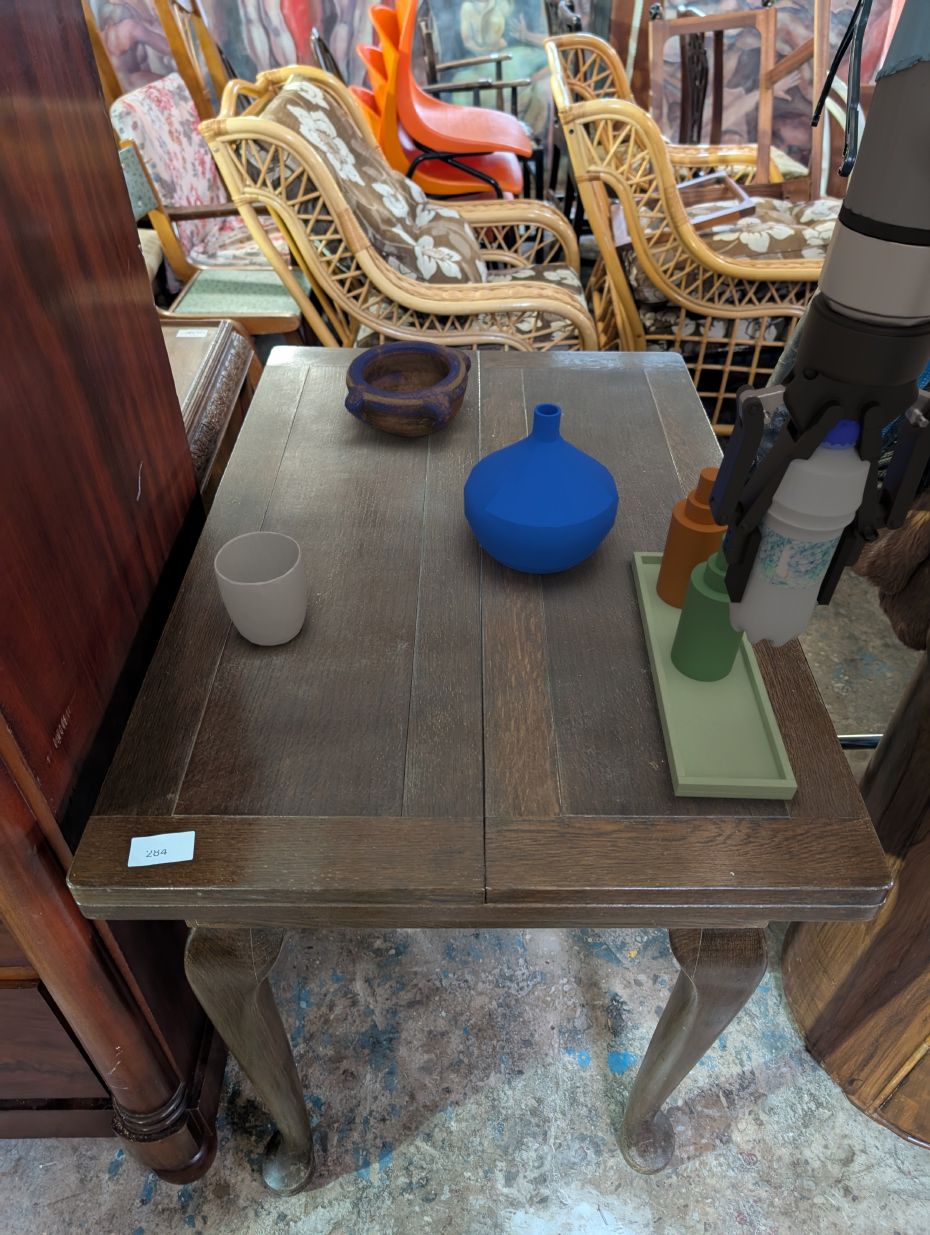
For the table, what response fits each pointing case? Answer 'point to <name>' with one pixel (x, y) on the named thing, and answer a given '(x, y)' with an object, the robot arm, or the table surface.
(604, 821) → the table surface
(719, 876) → the table surface
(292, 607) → the mug
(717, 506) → the robot arm
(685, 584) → the amber bottle
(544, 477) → the vase
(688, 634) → the green bottle
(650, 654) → the tray
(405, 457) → the table surface
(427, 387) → the bowl
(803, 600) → the bottle
